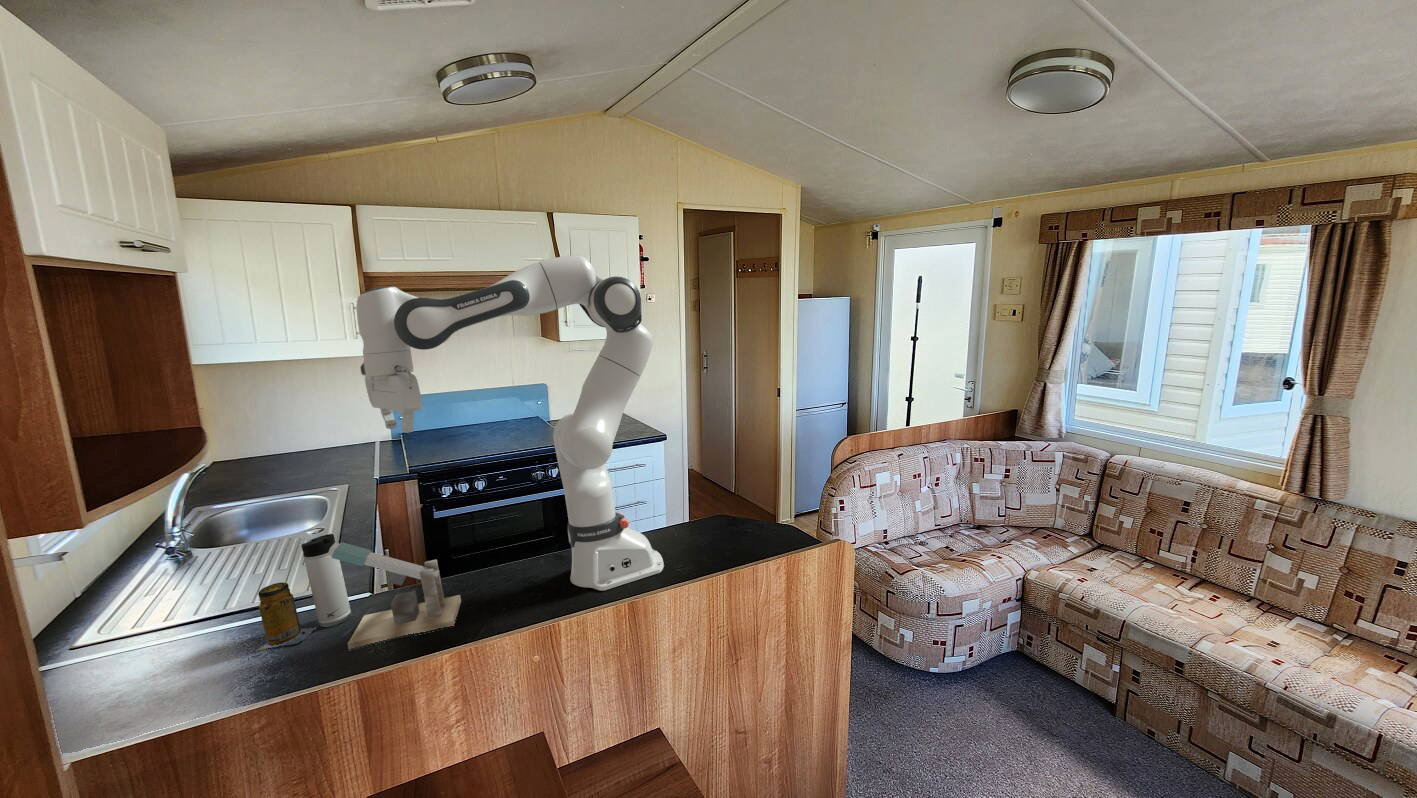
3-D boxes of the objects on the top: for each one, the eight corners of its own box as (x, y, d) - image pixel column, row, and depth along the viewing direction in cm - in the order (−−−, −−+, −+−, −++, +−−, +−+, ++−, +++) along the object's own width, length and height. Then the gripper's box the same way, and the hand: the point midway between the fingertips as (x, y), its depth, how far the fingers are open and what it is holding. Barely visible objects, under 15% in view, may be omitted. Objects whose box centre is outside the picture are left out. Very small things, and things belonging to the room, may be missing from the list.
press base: (461, 600, 136) (452, 551, 134) (454, 626, 124) (443, 573, 122) (365, 621, 131) (354, 570, 129) (349, 650, 119) (336, 595, 117)
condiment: (279, 632, 130) (266, 582, 128) (318, 626, 131) (307, 576, 129) (257, 651, 123) (244, 598, 121) (299, 645, 123) (287, 592, 121)
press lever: (433, 586, 130) (440, 569, 130) (429, 594, 126) (437, 577, 126) (329, 558, 123) (336, 540, 123) (321, 566, 119) (329, 548, 119)
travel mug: (337, 628, 129) (318, 542, 126) (312, 627, 130) (292, 543, 127) (359, 613, 135) (341, 531, 132) (335, 612, 136) (317, 531, 133)
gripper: (424, 364, 118) (435, 431, 120) (388, 363, 132) (397, 423, 134) (391, 368, 113) (402, 437, 116) (357, 367, 127) (367, 429, 129)
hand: (399, 430), depth 125 cm, fingers open, 8 cm apart
